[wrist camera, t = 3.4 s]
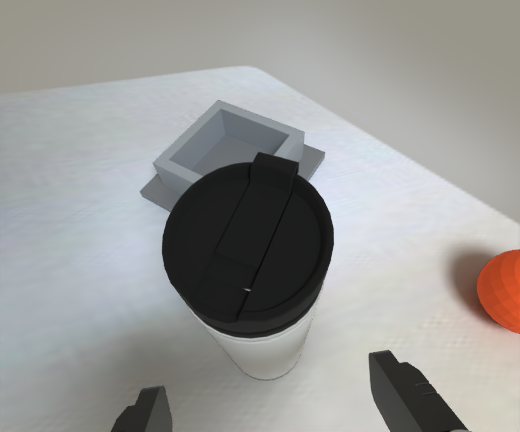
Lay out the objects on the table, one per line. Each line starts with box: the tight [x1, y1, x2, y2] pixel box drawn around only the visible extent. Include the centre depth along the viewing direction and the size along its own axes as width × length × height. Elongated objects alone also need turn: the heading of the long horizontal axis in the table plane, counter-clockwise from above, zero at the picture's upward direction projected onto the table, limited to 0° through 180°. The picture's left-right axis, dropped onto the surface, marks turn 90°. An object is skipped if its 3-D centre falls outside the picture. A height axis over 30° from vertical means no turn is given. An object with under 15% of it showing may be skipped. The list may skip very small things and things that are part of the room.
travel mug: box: [162, 152, 334, 381], centre depth 19 cm, size 6×7×20 cm
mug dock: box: [140, 100, 325, 212], centre depth 36 cm, size 16×16×5 cm
